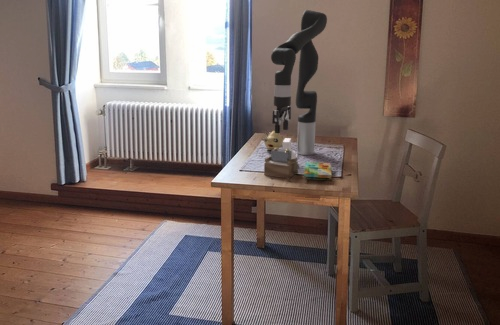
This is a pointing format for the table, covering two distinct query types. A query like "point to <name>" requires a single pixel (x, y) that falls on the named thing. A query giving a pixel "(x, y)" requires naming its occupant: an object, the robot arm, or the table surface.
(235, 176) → the table surface
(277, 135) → the tan toy hamster
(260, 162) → the table surface
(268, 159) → the stand
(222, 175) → the table surface
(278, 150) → the block
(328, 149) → the table surface
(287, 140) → the cylinder with rectangular tab
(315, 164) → the puzzle game
